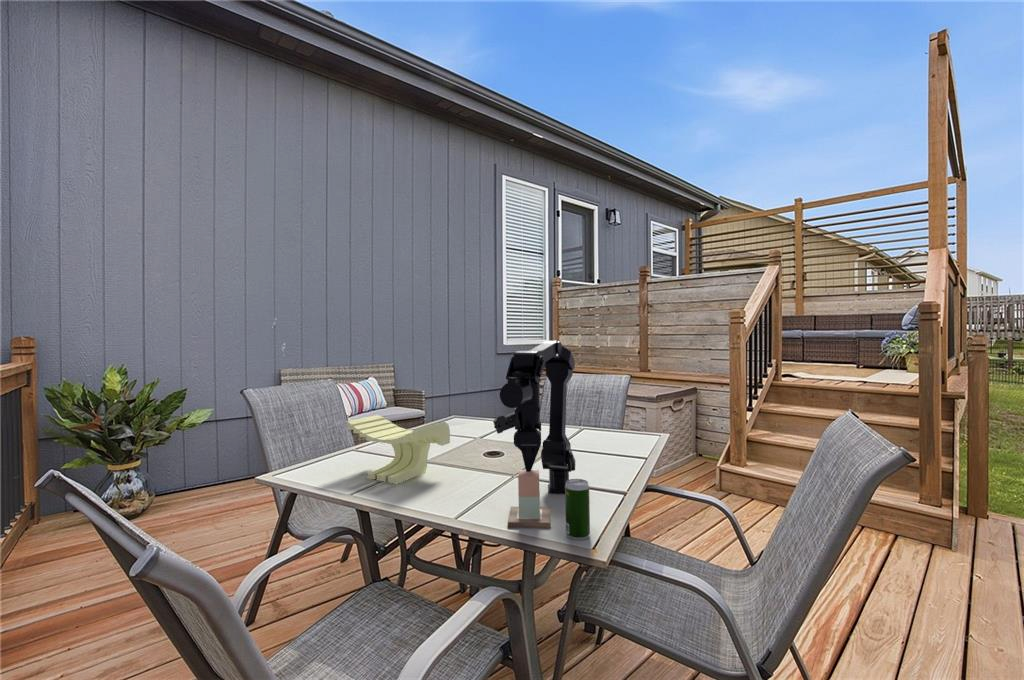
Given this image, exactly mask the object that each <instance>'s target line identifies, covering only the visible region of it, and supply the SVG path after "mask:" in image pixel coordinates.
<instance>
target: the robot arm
mask: <svg viewBox="0 0 1024 680" xmlns="http://www.w3.org/2000/svg"><path fill="white" fill-rule="evenodd" d="M575 361H576V360H575V358H574V355H573V354H572V351H571V350H569V349H567V348H566V347H565V346H563V344H562V342H561V341H559V340H544V341H542V342H541V344H539V345H536V346H535V347H534V348H531V349H530V350H529V349H528V350H517V351H514V353H513V354H512V356H511V358H510V362H509V365H508V369H507V372H506V376H505V379H506V380H507V383H505V384H504V385H503V386H502V387H501V389H500V392H499V399H500V401H501V403H502V404H503V405H504V406H505V407H507V408H509V409H514V411H513V412H510V413H507V414H501V415H498V416H497V417H496V418H494V419H493V421H492V422H493V425H494V426H493V428H494V429H495V431H496V434H501V433H503V432H504V431H507V430H510V429H513V428H514V430H516V431H515V432H514V434H513V444H514V446H515V447H516V448H517V449H518V450H520V452H521V456H522V460H523V464H524V468H525V469H524V470H526V472H530V471H531V470H533V466H534V465H535V464H534V463H535V461H536V458H537V456H538V454H539V451H540V448H541V446H542V448H541V452H540V459H541V464H542V469H543V470H548V474H549V475H548V476H549V477H548V478H549V482H548V484H547V493H549V494H550V493H551V494H555V493H556V494H565V485H566V481H567V480H569V479H570V473H571V472H572V471H573V472H575V471H576V465H577V464H576V458H575V456H574V453H573V451H572V448H571V445H572V444H571V443H570V440H569V438H568V437H567V435H566V427H567V426H566V425H567V424H566V422H567V421H566V420H567V393H568V392H567V391H568V390H567V389H568V384H569V381H570V380H571V378H572V377H573V376H574V375H573V373H574V370H575V365H576V362H575ZM544 369H545V370H544ZM544 371H545V376H546V377H547V380H548V381H549V383H550V397H549V399H550V402H549V404H550V405H549V425H548V426H549V429H548V430H549V432H548V435H547V437H546V439H544V440H543V441H542V421H541V403H540V402H541V401H540V400H541V396H540V395H541V393H540V391H541V390H540V388H541V386H540V383H541V382H542V379H541V378H542V375H543V372H544ZM540 377H541V378H540Z"/></svg>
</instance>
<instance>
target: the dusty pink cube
mask: <svg viewBox="0 0 1024 680" xmlns="http://www.w3.org/2000/svg"><path fill="white" fill-rule="evenodd" d="M517 479H518V481H517V482H518V487H517V488H518V489H517V490H518V498H519V497H539V490H540V470H539V469H531V471H530V472H526V469H519V470H518V477H517Z"/></svg>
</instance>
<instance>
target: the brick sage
mask: <svg viewBox="0 0 1024 680" xmlns="http://www.w3.org/2000/svg"><path fill="white" fill-rule="evenodd" d="M540 491H541V490H540V489H539V497H519V496H518V507H519V518H540V507H541V504H540V503H541V500H540V499H541V496H540V495H541V493H540Z"/></svg>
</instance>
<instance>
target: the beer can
mask: <svg viewBox="0 0 1024 680" xmlns="http://www.w3.org/2000/svg"><path fill="white" fill-rule="evenodd" d="M590 497H591V496H590V486H589V481H587V480H585V479H582V478H569V480H567V481H566V485H565V493H564V500H565V502H564V504H565V506H564V507H565V508H564V509H565V511H564V512H565V534H566V537H567V538H569V539H570V540H572V541H584V540H587V539H589V536H590V534H591V524H590V522H591V521H590V520H591V517H590V516H591V515H590V514H591V513H590V512H591V511H590V510H591V509H590V507H591V506H590V504H591V503H590V501H591V499H590Z"/></svg>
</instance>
